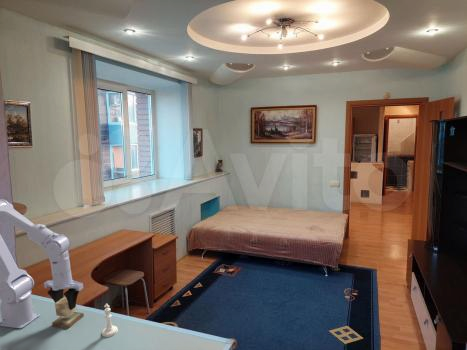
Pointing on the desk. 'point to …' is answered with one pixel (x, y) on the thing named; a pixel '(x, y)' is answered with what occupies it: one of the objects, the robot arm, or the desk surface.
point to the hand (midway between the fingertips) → (66, 307)
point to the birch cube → (63, 308)
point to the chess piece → (109, 324)
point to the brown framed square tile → (68, 320)
